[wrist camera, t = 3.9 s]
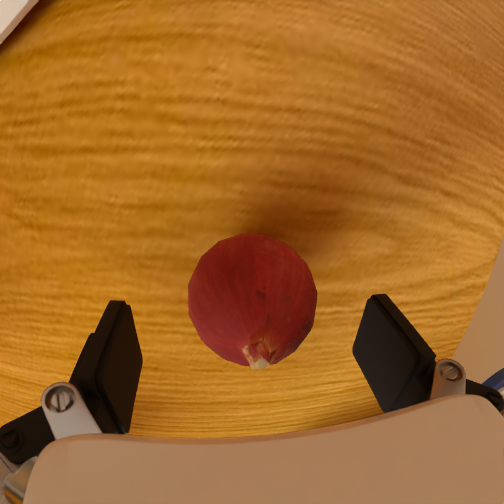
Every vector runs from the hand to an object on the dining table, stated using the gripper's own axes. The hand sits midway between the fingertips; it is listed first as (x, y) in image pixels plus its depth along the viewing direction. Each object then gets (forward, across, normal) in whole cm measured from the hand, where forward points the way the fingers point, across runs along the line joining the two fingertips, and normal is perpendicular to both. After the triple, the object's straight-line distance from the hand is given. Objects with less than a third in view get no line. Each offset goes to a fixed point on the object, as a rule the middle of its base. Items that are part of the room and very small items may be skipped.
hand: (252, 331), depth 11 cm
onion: (+6, 0, 0) cm, 7 cm away
